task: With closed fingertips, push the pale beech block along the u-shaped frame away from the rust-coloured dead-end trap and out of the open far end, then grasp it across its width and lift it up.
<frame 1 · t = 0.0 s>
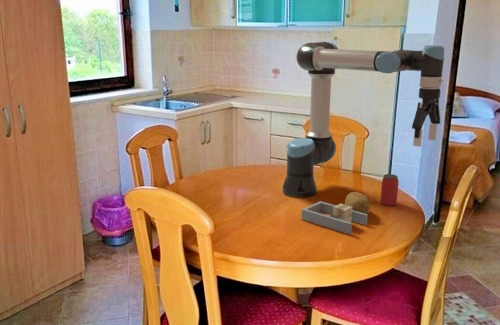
hand: (424, 143, 191), 28 cm above the table, fingers open, 13 cm apart
u-shaped frame: (335, 222, 187), on the table
potato: (356, 213, 196), on the table
beer can: (388, 203, 207), on the table
block: (342, 224, 185), resting in u-shaped frame
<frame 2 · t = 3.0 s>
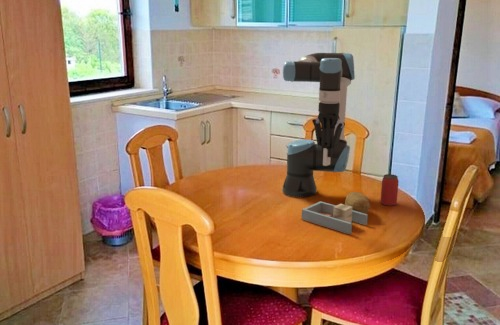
hand: (326, 164, 185), 22 cm above the table, fingers closed
nothing on the table moved.
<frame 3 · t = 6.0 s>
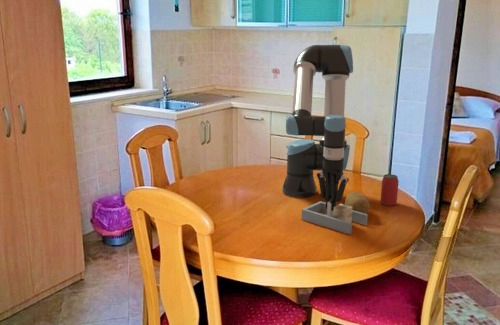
hand: (330, 217, 188), 1 cm above the table, fingers closed
block: (342, 224, 185), resting in u-shaped frame, touching gripper
everything else where it was.
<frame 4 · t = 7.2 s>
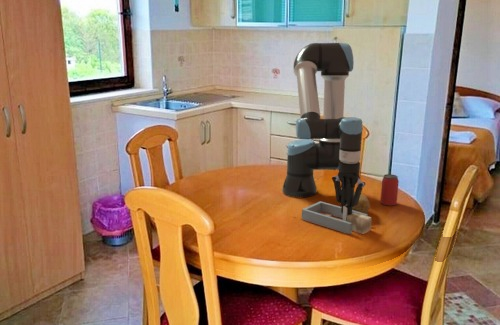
hand: (346, 222, 184), 1 cm above the table, fingers closed
block: (350, 220, 182), point 2 cm above the table, tilted 90°, touching gripper
everything else where it was.
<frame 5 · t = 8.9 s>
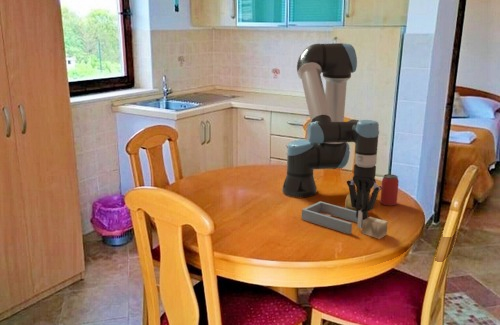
hand: (361, 226, 180), 1 cm above the table, fingers closed
block: (366, 224, 178), point 2 cm above the table, tilted 90°, touching gripper
everything else where it was.
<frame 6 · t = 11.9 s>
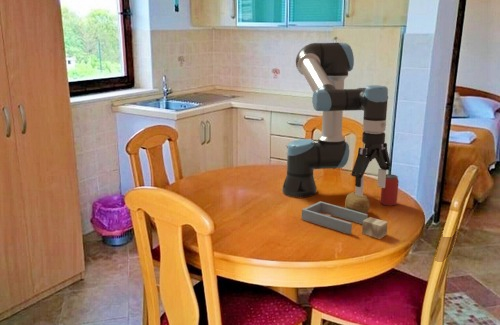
hand: (370, 191, 174), 16 cm above the table, fingers open, 13 cm apart
block: (365, 225, 179), point 2 cm above the table, tilted 90°
everything else where it was.
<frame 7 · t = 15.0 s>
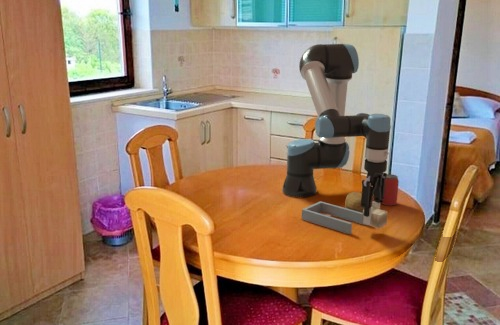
hand: (371, 221, 177), 4 cm above the table, fingers closed on block, 5 cm apart
block: (365, 214, 178), point 6 cm above the table, tilted 91°, touching gripper
everything else where it was.
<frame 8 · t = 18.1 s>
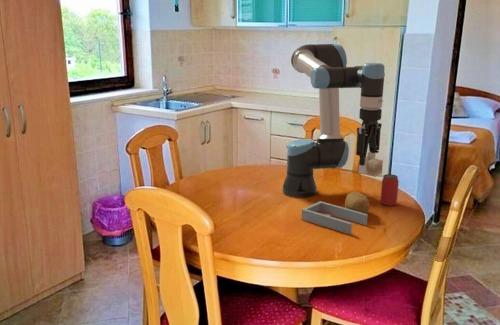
hand: (366, 171, 180), 21 cm above the table, fingers closed on block, 5 cm apart
block: (361, 165, 180), point 23 cm above the table, tilted 90°, touching gripper
everything else where it was.
at the end: the gripper is holding block; block point 22.8 cm above the table; block moved 23.6 cm from its start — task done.
